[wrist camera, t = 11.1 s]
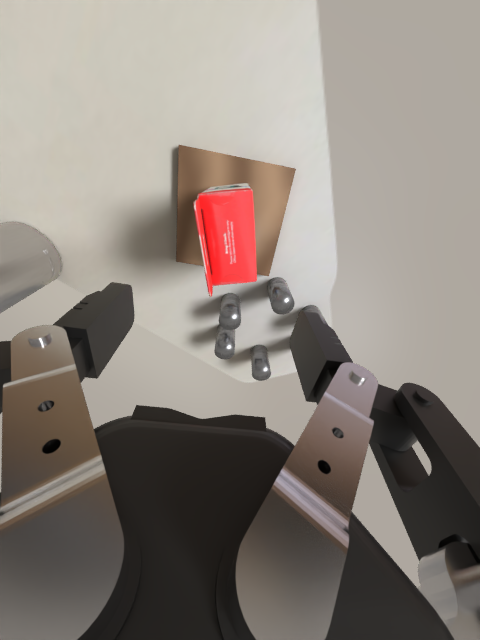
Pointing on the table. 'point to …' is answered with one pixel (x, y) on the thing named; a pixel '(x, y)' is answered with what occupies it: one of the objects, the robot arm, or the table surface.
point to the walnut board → (221, 169)
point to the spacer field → (232, 319)
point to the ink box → (227, 234)
